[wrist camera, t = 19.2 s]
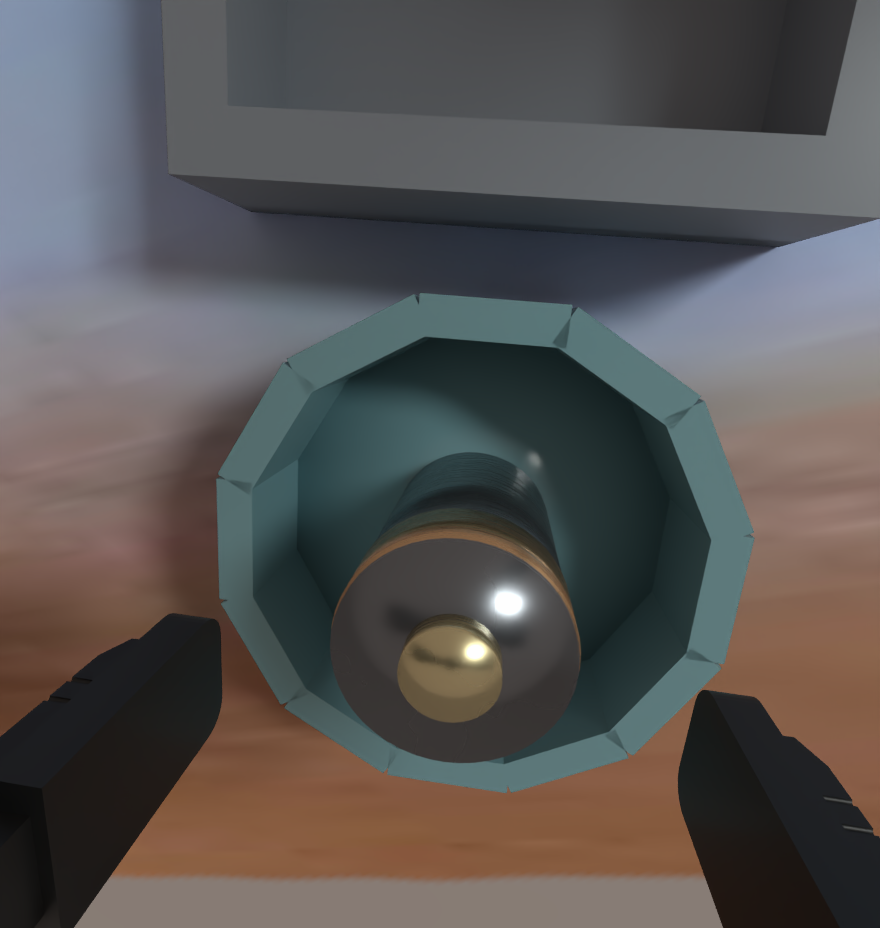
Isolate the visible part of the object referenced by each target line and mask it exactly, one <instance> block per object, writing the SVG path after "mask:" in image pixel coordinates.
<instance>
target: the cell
mask: <svg viewBox="0 0 880 928" xmlns="http://www.w3.org/2000/svg"><path fill="white" fill-rule="evenodd" d="M330 653H331V662H332V666H333V671H334V675H335V677H336V680H337V683H338V686H339V688H340V690H341V692H342V694H343V696H344V698H345V699H346V701H347V702H348V704H349V705H350V707H351V708H352V710H353V711H354V712H355V713H356V715H357V716H358V717H359V718H360V719H361V720H362V722H363V723H365V724H366V725H367V726H368V727H369V728H370V729H371V730H372V731H373V732H375V733H376V734H377V735H379V736H380V737H382V738H383V739H384V740H386V741H387V742H389V743H391V744H393V745H394V746H396V747H398V748H400V749H402V750H404V751H407V752H409V753H411V754H414V755H417V756H420V757H424V758H427V759H431V760H436V761H441V762H450V763H477V762H484V761H491V760H494V759H498V758H502V757H506V756H508V755H511V754H513V753H516V752H518V751H520V750H522V749H524V748H526V747H528V746H529V745H531V744H533V743H534V742H536V741H537V740H538V739H540V738H541V737H542V736H544V735H545V734H546V733H547V732H548V731H549V730H550V729H551V728H552V727H553V726H554V725H555V724H556V723H557V721H558V720H559V719H560V718H561V716H562V715H563V714H564V712H565V710H566V708H567V707H568V705H569V703H570V701H571V699H572V696H573V694H574V691H575V689H576V685H577V680H578V676H579V671H580V662H581V646H580V637H579V632H578V628H577V624H576V620H575V616H574V612H573V608H572V604H571V600H570V596H569V592H568V588H567V584H566V582H565V579H564V577H563V574H562V572H561V568H560V564H559V560H558V556H557V552H556V547H555V543H554V539H553V535H552V531H551V527H550V522H549V518H548V514H547V510H546V506H545V503H544V500H543V498H542V495H541V494H540V492H539V490H538V488H537V487H536V485H535V484H534V483H533V481H532V480H531V479H530V478H529V477H528V476H527V475H526V474H525V473H524V472H523V471H522V470H520V469H519V468H518V467H517V466H515V465H513V464H512V463H510V462H508V461H506V460H504V459H502V458H499V457H497V456H493V455H490V454H485V453H478V452H464V453H456V454H452V455H448V456H445V457H442V458H440V459H437V460H435V461H433V462H432V463H430V464H428V465H427V466H426V467H424V468H423V469H421V470H420V471H419V472H418V473H417V474H416V475H415V476H414V477H413V479H412V480H411V481H410V482H409V484H408V485H407V487H406V489H405V490H404V492H403V494H402V496H401V497H400V499H399V501H398V503H397V504H396V506H395V508H394V509H393V511H392V513H391V515H390V516H389V518H388V520H387V522H386V523H385V525H384V527H383V529H382V530H381V532H380V534H379V536H378V537H377V539H376V541H375V542H374V544H373V545H372V546H371V547H370V549H369V550H368V551H367V552H366V554H365V556H364V558H363V559H362V561H361V563H360V564H359V566H358V568H357V570H356V571H355V573H354V575H353V576H352V578H351V580H350V581H349V583H348V585H347V587H346V588H345V590H344V592H343V593H342V595H341V597H340V599H339V602H338V604H337V607H336V609H335V613H334V617H333V621H332V627H331V638H330Z"/></svg>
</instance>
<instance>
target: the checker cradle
mask: <svg viewBox="0 0 880 928" xmlns="http://www.w3.org/2000/svg"><path fill="white" fill-rule="evenodd" d="M161 12H162V36H163V60H164V83H165V107H166V130H167V154H168V174H169V175H172V176H174V177H176V178H178V179H180V180H183V181H185V182H187V183H189V184H191V185H194V186H196V187H198V188H200V189H203V190H205V191H207V192H209V193H211V194H214V195H216V196H218V197H220V198H222V199H225V200H227V201H229V202H231V203H233V204H236V205H238V206H240V207H242V208H244V209H247V210H249V211H251V212H263V213H278V214H293V215H308V216H323V217H338V218H353V219H368V220H382V221H397V222H412V223H427V224H442V225H457V226H472V227H487V228H502V229H517V230H532V231H547V232H562V233H577V234H591V235H606V236H621V237H636V238H651V239H666V240H681V241H696V242H711V243H726V244H741V245H756V246H771V247H780V246H784V245H788V244H791V243H795V242H798V241H802V240H805V239H809V238H812V237H816V236H820V235H823V234H827V233H830V232H834V231H837V230H841V229H845V228H848V227H852V226H855V225H859V224H862V223H866V222H869V221H873V220H877V219H880V0H161Z"/></svg>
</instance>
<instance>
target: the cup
mask: <svg viewBox="0 0 880 928" xmlns="http://www.w3.org/2000/svg"><path fill="white" fill-rule="evenodd" d="M287 360H288V362H285V363H282V365H281V367H280V369H279V370H278V372H277V374H276V375H275V377H274V379H273V380H272V382H271V384H270V386H269V387H268V389H267V391H266V392H265V394H264V396H263V397H262V399H261V401H260V403H259V404H258V406H257V408H256V409H255V411H254V413H253V414H252V416H251V418H250V420H249V421H248V423H247V425H246V426H245V428H244V430H243V431H242V433H241V435H240V437H239V438H238V440H237V442H236V443H235V445H234V447H233V448H232V450H231V452H230V454H229V455H228V457H227V459H226V460H225V462H224V464H223V465H222V467H221V469H220V471H219V472H218V475H220V477H219V478H217V479H216V485H217V524H218V564H219V599H225V600H224V601H223V602H222V603H221V605H222V606H223V608H224V610H225V611H226V613H227V615H228V616H229V618H230V620H231V622H232V623H233V625H234V627H235V628H236V630H237V632H238V633H239V635H240V637H241V638H242V640H243V642H244V643H245V645H246V647H247V649H248V650H249V652H250V654H251V655H252V657H253V659H254V660H255V662H256V664H257V665H258V667H259V669H260V670H261V672H262V674H263V676H264V677H265V679H266V681H267V682H268V684H269V686H270V687H271V689H272V691H273V692H274V694H275V696H276V698H277V699H278V701H279V703H280V704H284V703H287V704H286V705H285V707H284V708H285V709H286V710H288V711H289V712H291V713H292V714H294V715H295V716H297V717H298V718H300V719H301V720H303V721H305V722H306V723H308V724H309V725H311V726H312V727H314V728H315V729H317V730H318V731H320V732H321V733H323V734H324V735H326V736H327V737H329V738H330V739H332V740H333V741H335V742H337V743H338V744H340V745H341V746H343V747H344V748H346V749H347V750H349V751H350V752H352V753H353V754H355V755H356V756H358V757H359V758H361V759H362V760H364V761H365V762H367V763H369V764H370V765H372V766H373V767H375V768H376V769H378V770H379V771H381V772H382V773H384V771H385V770H386V769H387V768H388V775H392V776H399V777H405V778H412V779H418V780H425V781H431V782H438V783H444V784H451V785H457V786H464V787H470V788H477V789H484V790H490V791H497V792H503V793H507V786H508V787H509V789H510V791H511V793H512V792H516V791H519V790H522V789H526V788H529V787H532V786H536V785H539V784H543V783H546V782H549V781H553V780H556V779H560V778H563V777H566V776H570V775H573V774H576V773H580V772H583V771H587V770H590V769H593V768H597V767H600V766H603V765H607V764H610V763H614V762H617V761H620V760H624V759H627V758H628V755H627V752H628V753H630V754H631V755H634V754H635V753H636V752H637V751H638V750H639V749H640V748H641V747H642V746H643V745H644V744H645V743H646V742H647V741H648V740H649V739H650V738H651V737H652V736H653V735H654V734H655V733H656V732H657V731H658V730H659V729H660V728H661V727H662V726H663V725H664V724H665V723H667V722H668V721H669V720H670V719H671V718H672V717H673V716H674V715H675V714H676V713H677V712H678V711H679V710H680V709H681V708H682V707H683V706H684V705H685V704H686V703H687V702H688V701H689V700H690V699H691V698H692V697H693V696H694V695H695V694H696V693H697V692H698V691H699V690H700V689H701V688H702V687H703V686H704V685H705V684H706V683H707V682H708V681H709V680H710V679H711V678H712V677H713V676H714V675H715V674H716V673H717V672H718V671H719V670H720V669H721V667H720V665H719V664H718V663H720V664H724V662H725V658H726V654H727V650H728V646H729V642H730V637H731V633H732V629H733V625H734V621H735V617H736V612H737V608H738V604H739V600H740V596H741V592H742V588H743V583H744V579H745V575H746V571H747V567H748V563H749V559H750V554H751V550H752V546H753V542H754V537H753V536H751V535H750V534H751V533H754V531H753V528H752V526H751V523H750V520H749V518H748V515H747V512H746V510H745V507H744V504H743V502H742V499H741V496H740V494H739V491H738V488H737V486H736V483H735V480H734V478H733V475H732V472H731V470H730V467H729V465H728V462H727V459H726V457H725V454H724V451H723V449H722V446H721V443H720V441H719V438H718V435H717V433H716V430H715V427H714V425H713V422H712V419H711V417H710V414H709V411H708V409H707V406H706V403H705V401H703V400H700V399H699V398H700V397H701V396H700V395H698V394H697V393H696V392H694V391H693V390H692V389H690V388H689V387H687V386H686V385H685V384H683V383H682V382H681V381H679V380H678V379H677V378H675V377H674V376H672V375H671V374H670V373H668V372H667V371H666V370H664V369H663V368H661V367H660V366H659V365H657V364H656V363H655V362H653V361H652V360H650V359H649V358H648V357H646V356H645V355H644V354H642V353H641V352H639V351H638V350H637V349H635V348H634V347H633V346H631V345H630V344H628V343H627V342H626V341H624V340H623V339H622V338H620V337H619V336H618V335H616V334H615V333H613V332H612V331H611V330H609V329H608V328H607V327H605V326H604V325H602V324H601V323H600V322H598V321H597V320H596V319H594V318H593V317H591V316H590V315H589V314H587V313H586V312H585V311H583V310H582V309H580V308H579V307H576V308H572V305H569V304H556V303H543V302H530V301H517V300H505V299H492V298H479V297H466V296H453V295H440V294H427V293H420V296H418V295H415V294H413V295H411V296H409V297H407V298H405V299H403V300H401V301H399V302H397V303H395V304H393V305H391V306H390V307H388V308H386V309H384V310H382V311H380V312H378V313H376V314H374V315H372V316H370V317H368V318H366V319H364V320H362V321H360V322H358V323H356V324H354V325H352V326H350V327H349V328H347V329H345V330H343V331H341V332H339V333H337V334H335V335H333V336H331V337H329V338H327V339H325V340H323V341H321V342H319V343H317V344H315V345H313V346H311V347H309V348H307V349H306V350H304V351H302V352H300V353H298V354H296V355H294V356H292V357H290V358H288V359H287ZM464 452H478V453H485V454H490V455H493V456H497V457H499V458H502V459H504V460H506V461H508V462H510V463H512V464H513V465H515V466H517V467H518V468H519V469H520V470H522V471H523V472H524V473H525V474H526V475H527V476H528V477H529V478H530V479H531V480H532V481H533V483H534V484H535V485H536V487H537V488H538V490H539V492H540V494H541V495H542V498H543V500H544V503H545V506H546V510H547V514H548V518H549V522H550V527H551V531H552V535H553V539H554V543H555V547H556V552H557V556H558V560H559V564H560V568H561V572H562V574H563V577H564V579H565V582H566V584H567V588H568V592H569V596H570V600H571V604H572V608H573V612H574V616H575V620H576V624H577V628H578V632H579V637H580V646H581V662H580V671H579V676H578V680H577V685H576V689H575V691H574V694H573V696H572V699H571V701H570V703H569V705H568V707H567V708H566V710H565V712H564V714H563V715H562V716H561V718H560V719H559V720H558V721H557V723H556V724H555V725H554V726H553V727H552V728H551V729H550V730H549V731H548V732H547V733H546V734H545V735H544V736H542V737H541V738H540V739H538V740H537V741H536V742H534V743H533V744H531V745H529V746H528V747H526V748H524V749H522V750H520V751H518V752H516V753H513V754H511V755H508V756H506V757H502V758H498V759H494V760H491V761H484V762H477V763H450V762H441V761H436V760H431V759H427V758H424V757H420V756H417V755H414V754H411V753H409V752H407V751H404V750H402V749H400V748H398V747H396V746H394V745H393V744H391V743H389V742H387V741H386V740H384V739H383V738H382V737H380V736H379V735H377V734H376V733H375V732H373V731H372V730H371V729H370V728H369V727H368V726H367V725H366V724H365V723H363V722H362V720H361V719H360V718H359V717H358V716H357V715H356V713H355V712H354V711H353V710H352V708H351V707H350V705H349V704H348V702H347V701H346V699H345V698H344V696H343V694H342V692H341V690H340V688H339V686H338V683H337V680H336V677H335V675H334V671H333V666H332V662H331V653H330V638H331V627H332V621H333V617H334V613H335V609H336V607H337V604H338V602H339V599H340V597H341V595H342V593H343V592H344V590H345V588H346V587H347V585H348V583H349V581H350V580H351V578H352V576H353V575H354V573H355V571H356V570H357V568H358V566H359V564H360V563H361V561H362V559H363V558H364V556H365V554H366V552H367V551H368V550H369V549H370V547H371V546H372V545H373V544H374V542H375V541H376V539H377V537H378V536H379V534H380V532H381V530H382V529H383V527H384V525H385V523H386V522H387V520H388V518H389V516H390V515H391V513H392V511H393V509H394V508H395V506H396V504H397V503H398V501H399V499H400V497H401V496H402V494H403V492H404V490H405V489H406V487H407V485H408V484H409V482H410V481H411V480H412V479H413V477H414V476H415V475H416V474H417V473H418V472H419V471H420V470H421V469H423V468H424V467H426V466H427V465H428V464H430V463H432V462H433V461H435V460H437V459H440V458H442V457H445V456H448V455H452V454H456V453H464Z"/></svg>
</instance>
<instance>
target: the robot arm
mask: <svg viewBox="0 0 880 928" xmlns="http://www.w3.org/2000/svg"><path fill="white" fill-rule="evenodd" d="M221 703H222V667H221V632H220V626H219V623H218V622H217V620H215V619H210V618H203V617H196V616H189V615H182V614H175V613H172V614H169V615H167V616H166V617H164V618H163V619H162V620H161V621H160V622H158V623H157V624H156V625H155V626H154V627H153V628H152V629H151V630H149V631H148V632H147V633H146V634H145V635H144V636H143V637H141V638H140V639H139V640H138V639H131V640H128V641H126V642H124V643H122V644H120V645H118V646H116V647H114V648H112V649H110V650H108V651H106V652H104V653H102V654H100V655H98V656H97V657H96V658H95V659H93V660H92V661H91V662H90V663H89V664H87V665H86V666H85V667H84V668H83V669H81V670H80V671H79V672H78V673H77V674H75V675H74V676H73V678H72V681H71V682H68V681H67V682H66V683H65V684H63V685H62V686H61V687H60V688H59V689H57V690H56V691H55V692H54V693H53V694H51V695H50V698H49V700H48V701H43V702H42V703H40V704H39V705H38V706H37V707H36V708H34V709H33V710H32V711H31V712H30V713H28V714H27V715H26V716H25V717H24V718H22V719H21V720H20V721H19V722H18V723H16V724H15V725H14V726H13V727H12V728H10V729H9V730H8V731H7V732H6V733H4V734H3V735H2V736H1V737H0V928H74V927H75V925H76V924H77V922H78V921H79V920H80V918H81V917H82V915H83V914H84V913H85V911H86V910H87V908H88V907H89V905H90V904H91V903H92V901H93V900H94V898H95V897H96V896H97V894H98V893H99V891H100V890H101V889H102V887H103V886H104V884H105V883H106V881H107V880H108V879H109V877H110V876H111V874H112V873H113V872H114V870H115V869H116V867H117V866H118V864H119V863H120V862H121V860H122V859H123V857H124V856H125V855H126V853H127V852H128V850H129V849H130V848H131V846H132V845H133V843H134V842H135V840H136V839H137V838H138V836H139V835H140V833H141V832H142V831H143V829H144V828H145V826H146V825H147V823H148V822H149V821H150V819H151V818H152V816H153V815H154V814H155V812H156V811H157V809H158V808H159V806H160V805H161V804H162V802H163V801H164V799H165V798H166V797H167V795H168V794H169V792H170V791H171V790H172V788H173V787H174V785H175V784H176V782H177V781H178V780H179V778H180V777H181V775H182V774H183V773H184V771H185V770H186V768H187V767H188V765H189V764H190V763H191V761H192V760H193V758H194V757H195V756H196V754H197V753H198V751H199V750H200V749H201V747H202V746H203V744H204V743H205V741H206V740H207V739H208V737H209V736H210V734H211V732H212V730H213V728H214V726H215V724H216V721H217V719H218V716H219V712H220V708H221ZM678 794H679V801H680V806H681V811H682V814H683V817H684V820H685V823H686V825H687V828H688V831H689V834H690V836H691V839H692V842H693V845H694V848H695V850H696V853H697V856H698V859H699V862H700V864H701V867H702V870H703V873H704V876H705V878H706V881H707V884H708V887H709V889H710V892H711V895H712V898H713V901H714V903H715V906H716V909H717V912H718V914H719V917H720V920H721V923H722V926H723V928H880V838H879V836H874V834H873V828H872V827H871V825H870V824H869V822H868V821H867V820H866V818H865V817H864V816H863V814H862V813H861V811H860V810H859V809H858V807H856V806H853V804H852V799H851V797H850V796H849V795H848V793H847V792H846V791H845V789H844V788H843V786H842V785H841V784H840V782H839V781H838V779H837V778H836V777H835V775H834V774H833V773H832V771H831V770H830V768H829V767H828V766H827V765H826V764H825V763H823V762H822V761H821V760H820V759H819V758H818V757H816V756H815V755H814V754H813V753H812V752H811V751H809V750H808V749H807V748H806V747H805V746H804V745H802V744H801V743H800V742H799V741H798V740H797V739H795V738H794V737H788V736H783V735H782V734H781V732H780V731H779V729H778V728H777V726H776V725H775V723H774V722H773V720H772V719H771V717H770V716H769V714H768V713H767V711H766V710H765V708H764V707H763V705H762V704H761V703H760V701H759V700H758V699H756V698H755V697H751V696H744V695H737V694H730V693H723V692H716V691H709V690H702V691H701V692H700V693H699V694H698V696H697V698H696V702H695V705H694V709H693V713H692V717H691V722H690V726H689V730H688V734H687V738H686V742H685V746H684V750H683V754H682V758H681V762H680V767H679V773H678Z"/></svg>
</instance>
